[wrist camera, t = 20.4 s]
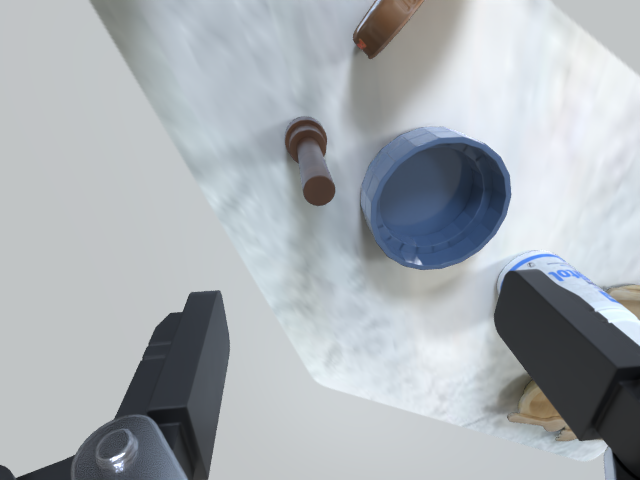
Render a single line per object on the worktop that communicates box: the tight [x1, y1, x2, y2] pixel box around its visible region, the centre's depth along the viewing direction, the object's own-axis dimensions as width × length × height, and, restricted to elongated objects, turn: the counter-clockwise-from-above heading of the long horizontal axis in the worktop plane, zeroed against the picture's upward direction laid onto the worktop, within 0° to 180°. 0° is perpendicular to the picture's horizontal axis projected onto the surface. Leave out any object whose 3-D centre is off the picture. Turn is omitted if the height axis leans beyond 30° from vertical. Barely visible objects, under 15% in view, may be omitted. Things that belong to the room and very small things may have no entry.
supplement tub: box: [497, 250, 640, 346], centre depth 45 cm, size 10×10×15 cm
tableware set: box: [507, 285, 640, 441], centre depth 61 cm, size 35×29×4 cm
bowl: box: [361, 127, 511, 270], centre depth 41 cm, size 15×15×6 cm
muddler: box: [285, 116, 335, 206], centre depth 32 cm, size 4×4×17 cm
